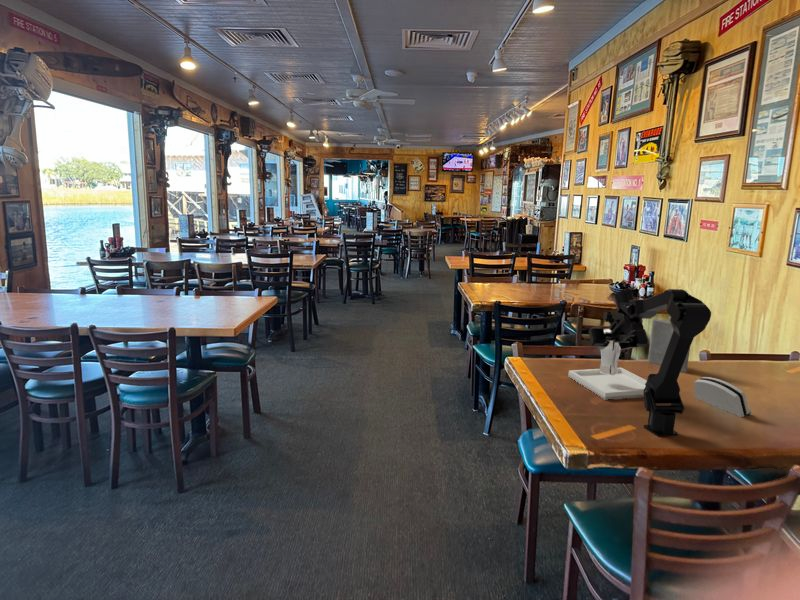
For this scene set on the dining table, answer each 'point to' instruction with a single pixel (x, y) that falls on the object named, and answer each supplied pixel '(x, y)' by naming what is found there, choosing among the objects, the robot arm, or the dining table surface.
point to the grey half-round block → (721, 395)
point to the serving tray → (610, 383)
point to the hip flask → (662, 342)
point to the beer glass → (610, 356)
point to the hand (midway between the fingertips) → (608, 348)
